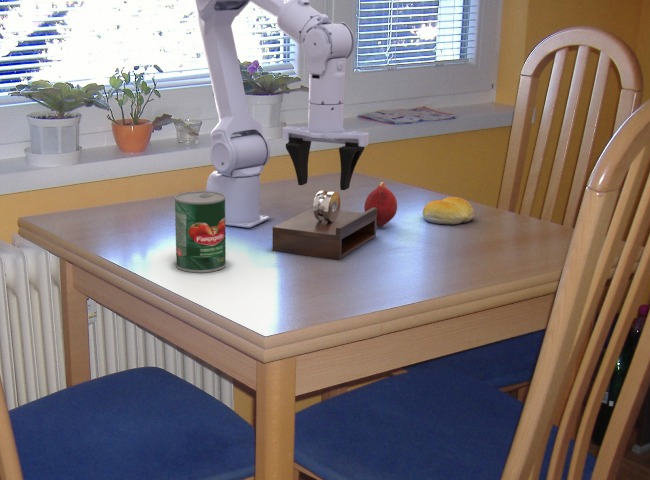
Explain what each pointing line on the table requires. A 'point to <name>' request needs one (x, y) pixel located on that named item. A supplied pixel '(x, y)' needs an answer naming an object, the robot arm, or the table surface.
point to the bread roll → (448, 211)
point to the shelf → (325, 234)
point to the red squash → (382, 204)
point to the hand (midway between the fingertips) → (323, 186)
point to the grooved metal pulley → (326, 206)
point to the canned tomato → (200, 231)
